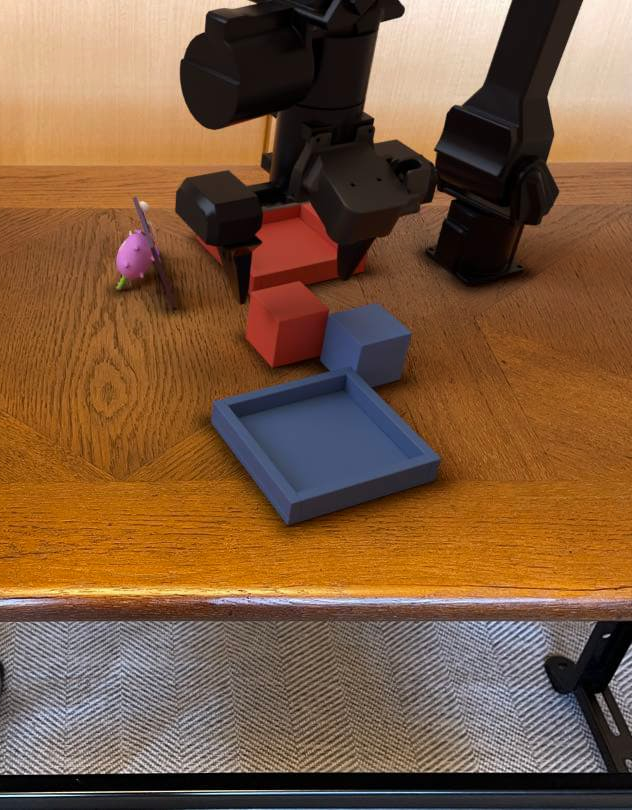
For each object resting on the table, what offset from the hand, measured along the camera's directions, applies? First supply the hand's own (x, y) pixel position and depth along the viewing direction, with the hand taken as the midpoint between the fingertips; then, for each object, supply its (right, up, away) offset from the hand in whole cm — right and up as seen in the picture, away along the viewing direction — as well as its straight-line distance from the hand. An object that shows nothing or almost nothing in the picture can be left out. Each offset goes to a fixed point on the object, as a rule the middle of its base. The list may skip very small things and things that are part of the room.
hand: (292, 290), depth 72 cm
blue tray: (0, -12, -6) cm, 14 cm away
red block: (0, -4, +3) cm, 5 cm away
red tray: (+2, +5, +15) cm, 16 cm away
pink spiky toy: (-11, +2, +11) cm, 16 cm away
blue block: (+5, -6, +1) cm, 8 cm away
